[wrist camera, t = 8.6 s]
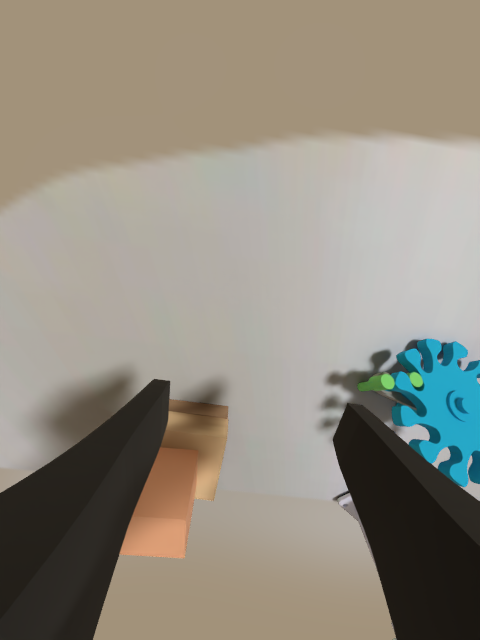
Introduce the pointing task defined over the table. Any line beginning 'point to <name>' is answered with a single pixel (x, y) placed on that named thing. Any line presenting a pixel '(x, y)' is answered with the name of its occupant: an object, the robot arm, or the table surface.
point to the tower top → (199, 446)
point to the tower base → (198, 408)
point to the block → (164, 506)
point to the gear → (437, 405)
